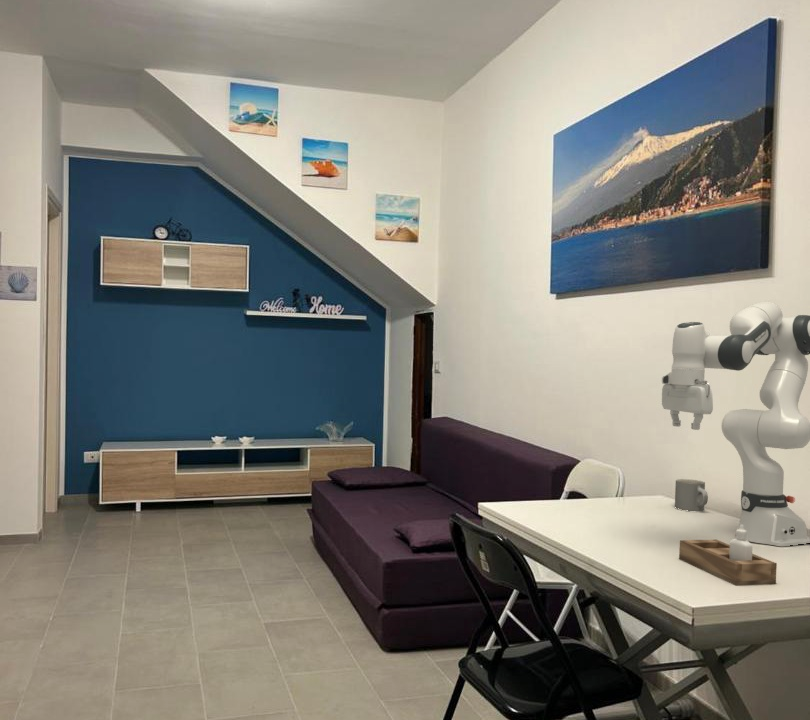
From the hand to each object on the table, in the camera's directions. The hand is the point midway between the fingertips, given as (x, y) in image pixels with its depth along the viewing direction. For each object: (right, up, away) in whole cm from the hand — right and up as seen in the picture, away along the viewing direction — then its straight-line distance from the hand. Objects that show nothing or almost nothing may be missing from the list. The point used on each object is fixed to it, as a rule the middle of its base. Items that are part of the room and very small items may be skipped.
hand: (685, 427), depth 223 cm
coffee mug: (+23, -35, +59) cm, 73 cm away
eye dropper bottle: (+3, -34, -29) cm, 44 cm away
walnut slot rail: (+2, -34, -23) cm, 41 cm away
